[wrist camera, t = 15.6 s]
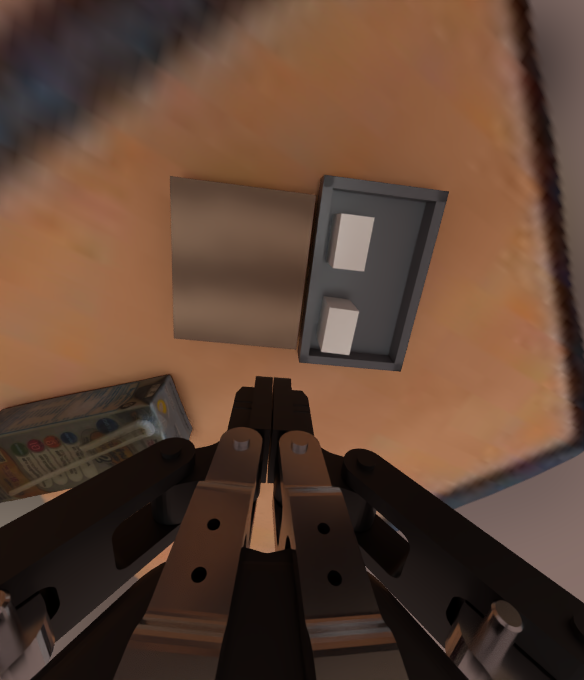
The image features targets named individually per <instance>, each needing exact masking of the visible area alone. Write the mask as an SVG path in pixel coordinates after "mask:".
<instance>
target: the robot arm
mask: <svg viewBox="0 0 584 680" xmlns="http://www.w3.org/2000/svg"><path fill="white" fill-rule="evenodd" d="M272 384H273V392H272ZM268 454H269V457H268ZM267 464H268V482H267V483H274V491H273V500H272V509H273V524H274V540H275V552H272V553H262V552H259V551H256V550H253V549H250V542H251V536H252V530H253V524H254V518H255V512H256V505H257V498H258V496H259V493H260V485H261V483H266V474H267ZM148 503H149V504H148ZM138 510H139V511H138ZM376 511H378V512H379V513H380V514H381V515H383V516H384V517H385V518H386V519H387V520H388V521H389V522H391V523H392V524H393V525H394V526H395V527H396V528H398V529H399V530H400V531H401V532H402V533H403V534H404V535H405V537H406V538H407V540H408V542H409V543H408V542H407V541H406V540H405V539H404V538H402V537H401V536H400V535H399V534H398V533H397V532H396V531H395V530H394V529H392V528H391V527H390V526H389V525H388V524H387V523H386V522H384V521H383V520H382V519H381V518H380V517H379V516H378V515H377V514H376ZM135 512H136V513H135ZM125 519H126V520H125ZM173 542H174V543H173ZM171 543H173V546H172V548H171V551H170V553H169V556H168V558H167V561H166V562H164V563H162V564H160V565H159V566H157V567H155V568H154V569H152V570H151V571H149V572H148V573H147V574H145V575H144V576H143V577H141V578H140V579H139V580H138V581H137V582H136V583H134V584H133V585H132V586H131V587H130V588H129V589H128V590H127V591H126V592H125V593H124V594H123V595H122V596H120V597H119V598H118V599H117V600H116V601H115V602H114V603H113V604H112V605H111V606H109V608H107V609H106V610H105V611H104V612H103V613H102V614H101V615H100V616H99V617H98V618H97V619H95V620H94V621H93V622H92V623H91V624H90V625H89V626H88V627H87V628H86V629H85V630H84V631H82V632H81V633H80V634H79V635H78V636H77V637H76V638H75V639H74V640H73V641H71V642H70V643H69V644H68V645H67V646H66V647H65V648H64V649H63V650H62V651H61V652H59V653H58V654H57V655H56V656H55V657H54V658H53V659H52V660H51V661H50V662H49V663H48V661H49V659H50V657H51V655H52V652H53V648H54V643H55V642H56V641H58V640H59V639H60V638H61V637H62V636H63V635H65V634H66V633H67V632H68V631H69V630H70V629H72V628H73V627H74V626H75V625H76V624H77V623H79V622H80V621H81V620H82V619H83V618H84V617H86V616H87V615H88V614H89V613H90V612H92V611H93V610H94V609H95V608H96V607H97V606H99V605H100V604H101V603H102V602H103V601H104V600H106V599H107V598H108V597H109V596H110V595H112V594H113V593H114V592H115V591H116V590H117V589H119V588H120V587H121V586H122V585H123V584H124V583H125V582H127V581H128V580H129V579H130V578H131V577H133V576H134V575H135V574H136V573H137V572H139V571H140V570H141V569H142V568H143V567H144V566H146V565H147V564H148V563H149V562H150V561H151V560H153V559H154V558H155V557H156V556H157V555H158V554H160V553H161V552H162V551H163V550H164V549H165V548H167V547H168V546H169V545H170V544H171ZM365 566H366V567H367V568H368V569H369V570H370V571H371V572H372V573H373V574H374V575H375V576H376V577H377V578H378V579H379V580H380V581H379V580H378V579H376V578H375V577H374V576H373V575H372V574H370V573H369V572H367V571H366V567H365ZM389 591H390V592H391V593H392V594H393V595H394V596H395V597H396V598H397V599H398V600H399V601H400V602H401V603H402V604H403V606H404V607H405V608H406V609H407V610H408V611H409V612H410V613H411V614H412V615H413V616H414V617H415V618H416V619H417V620H418V621H419V622H420V623H421V624H422V625H423V626H424V628H425V629H426V630H427V631H428V632H429V633H430V634H431V635H432V636H433V637H434V638H435V639H436V640H437V641H438V642H439V643H440V644H441V645H442V646H443V647H444V648H445V650H446V653H445V652H444V651H443V650H442V649H441V648H440V647H439V646H438V645H437V644H436V643H435V641H434V640H433V639H432V638H431V637H430V636H429V635H428V634H427V633H426V631H425V630H424V629H423V628H422V627H421V626H420V625H419V624H418V623H417V622H416V620H415V619H414V618H413V617H412V616H411V615H410V614H409V613H408V611H407V610H406V609H405V608H404V607H403V606H402V605H401V604H400V603H399V602H398V601H397V599H396V598H395V597H394V596H393V595H392V594H391V593H390V592H389ZM47 663H48V664H47ZM0 680H584V603H583V602H581V601H580V600H579V599H577V598H576V597H575V596H573V595H572V594H570V593H569V592H568V591H566V590H565V589H563V588H562V587H561V586H559V585H558V584H556V583H555V582H554V581H552V580H551V579H550V578H548V577H547V576H545V575H544V574H543V573H541V572H540V571H538V570H537V569H536V568H534V567H533V566H531V565H530V564H529V563H527V562H526V561H524V560H523V559H522V558H520V557H519V556H518V555H516V554H515V553H513V552H512V551H511V550H509V549H508V548H506V547H505V546H504V545H502V544H501V543H500V542H498V541H497V540H495V539H494V538H493V537H491V536H490V535H488V534H487V533H485V532H484V531H483V530H481V529H480V528H479V527H477V526H476V525H475V524H473V523H472V522H470V521H469V520H467V519H466V518H465V517H463V516H462V515H461V514H459V513H458V512H456V511H455V510H454V509H452V508H451V507H450V506H448V505H447V504H445V503H444V502H443V501H441V500H440V499H438V498H437V497H436V496H434V495H433V494H431V493H430V492H429V491H427V490H426V489H425V488H423V487H422V486H420V485H419V484H418V483H416V482H415V481H413V480H412V479H411V478H409V477H408V476H406V475H405V474H404V473H402V472H401V471H400V470H398V469H397V468H395V467H394V466H393V465H391V464H390V463H388V462H387V461H386V460H384V459H383V458H381V457H380V456H379V455H377V454H376V453H374V452H372V451H369V450H366V449H352V450H350V451H348V452H347V453H346V454H345V456H344V457H342V456H339V455H336V454H332V453H330V452H328V451H326V450H324V449H323V448H321V446H320V443H319V441H318V440H317V438H316V437H314V432H313V426H312V420H311V414H310V408H309V401H308V397H307V396H306V395H305V394H304V393H303V391H297V390H292V388H291V379H289V378H275V377H274V382H273V377H261V376H256V380H255V387H242V388H241V389H240V390H239V391H238V392H237V393H236V396H235V400H234V404H233V408H232V413H231V417H230V421H229V425H228V430H227V431H226V432H225V433H224V434H223V435H222V436H221V438H220V441H219V442H217V443H215V444H213V445H210V446H207V447H201V448H196V449H195V447H194V445H193V443H192V442H191V441H189V440H187V439H185V438H179V437H172V438H167V439H163V440H161V441H159V442H157V443H155V444H153V445H151V446H149V447H148V448H146V449H144V450H142V451H140V452H138V453H137V454H135V455H133V456H131V457H129V458H127V459H126V460H124V461H122V462H120V463H118V464H116V465H115V466H113V467H111V468H109V469H107V470H105V471H104V472H102V473H100V474H98V475H96V476H94V477H93V478H91V479H89V480H87V481H85V482H83V483H81V484H80V485H78V486H76V487H74V488H72V489H70V490H69V491H67V492H65V493H63V494H61V495H59V496H58V497H56V498H54V499H52V500H50V501H48V502H47V503H45V504H43V505H41V506H39V507H37V508H36V509H34V510H32V511H30V512H28V513H27V514H25V515H23V516H21V517H19V518H17V519H16V520H14V521H12V522H10V523H8V524H6V525H4V526H3V527H1V528H0Z"/></svg>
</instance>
